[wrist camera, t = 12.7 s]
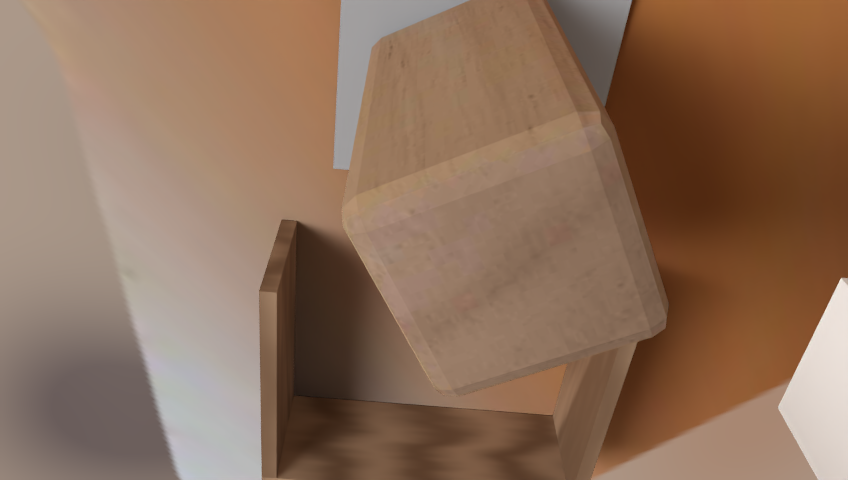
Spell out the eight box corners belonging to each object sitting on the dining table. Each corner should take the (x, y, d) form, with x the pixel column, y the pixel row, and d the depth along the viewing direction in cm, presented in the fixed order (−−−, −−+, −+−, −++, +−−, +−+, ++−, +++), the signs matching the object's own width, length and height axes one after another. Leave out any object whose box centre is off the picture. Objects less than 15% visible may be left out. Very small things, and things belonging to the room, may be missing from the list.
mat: (633, -18, 41) (635, -15, 40) (581, 188, 48) (583, 192, 47) (344, -51, 40) (343, -48, 40) (334, 164, 47) (333, 168, 46)
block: (585, 125, 45) (682, 339, 28) (433, 182, 47) (438, 413, 30) (533, -32, 40) (613, 112, 23) (366, 39, 42) (327, 219, 25)
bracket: (614, 250, 50) (643, 324, 44) (562, 425, 60) (580, 509, 53) (281, 219, 49) (259, 291, 42) (280, 403, 58) (262, 486, 51)
